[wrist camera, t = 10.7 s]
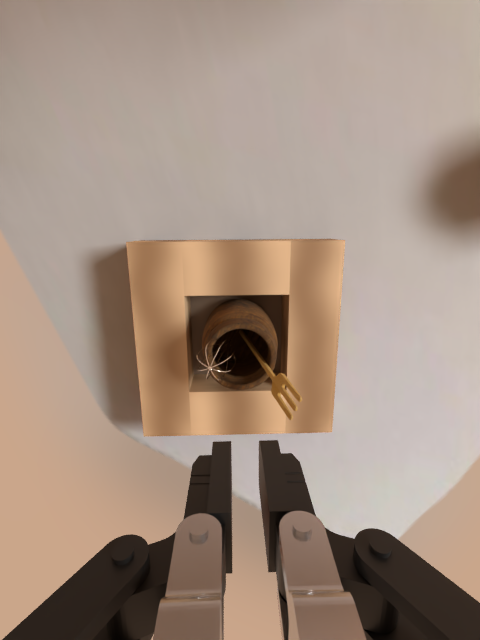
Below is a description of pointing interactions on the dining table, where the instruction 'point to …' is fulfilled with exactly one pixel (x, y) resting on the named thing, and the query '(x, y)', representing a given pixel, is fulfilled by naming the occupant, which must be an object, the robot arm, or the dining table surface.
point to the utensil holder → (244, 350)
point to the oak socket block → (191, 316)
